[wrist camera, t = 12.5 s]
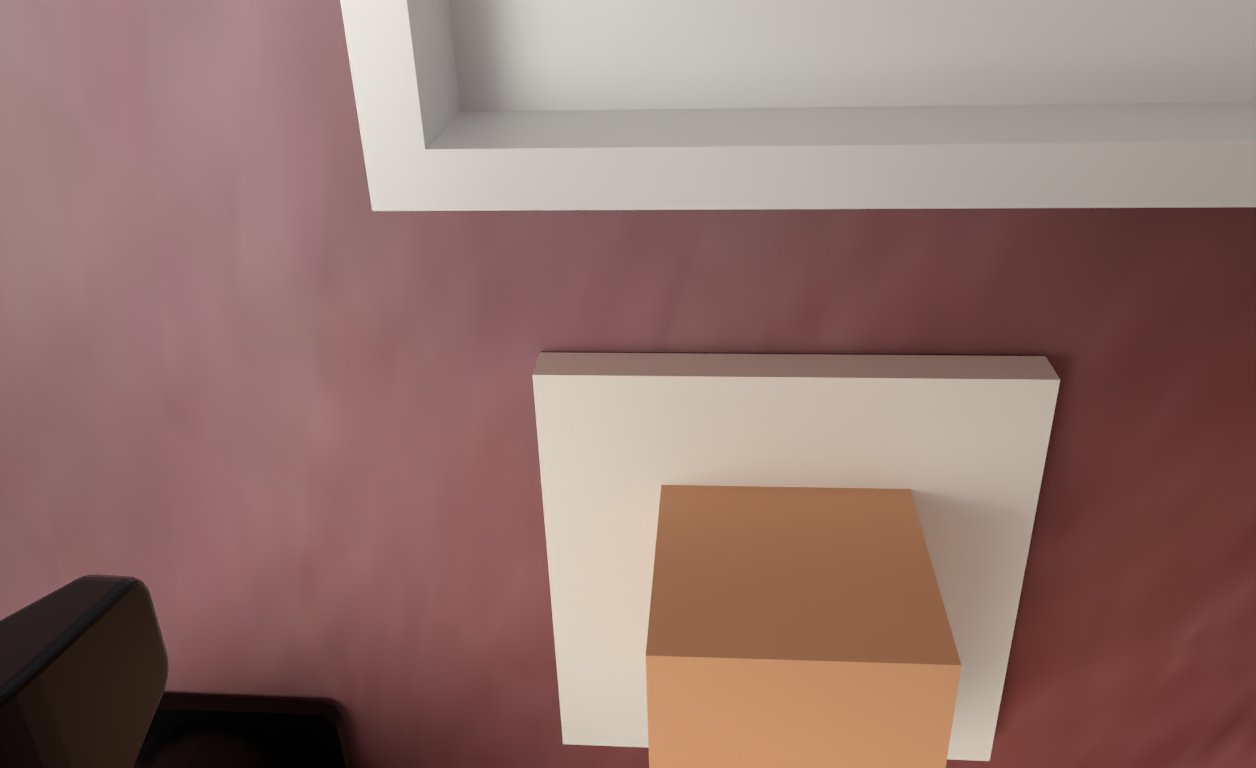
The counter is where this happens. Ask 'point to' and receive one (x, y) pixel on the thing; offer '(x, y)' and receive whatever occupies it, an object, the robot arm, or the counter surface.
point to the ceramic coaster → (782, 457)
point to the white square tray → (804, 103)
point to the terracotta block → (796, 632)
